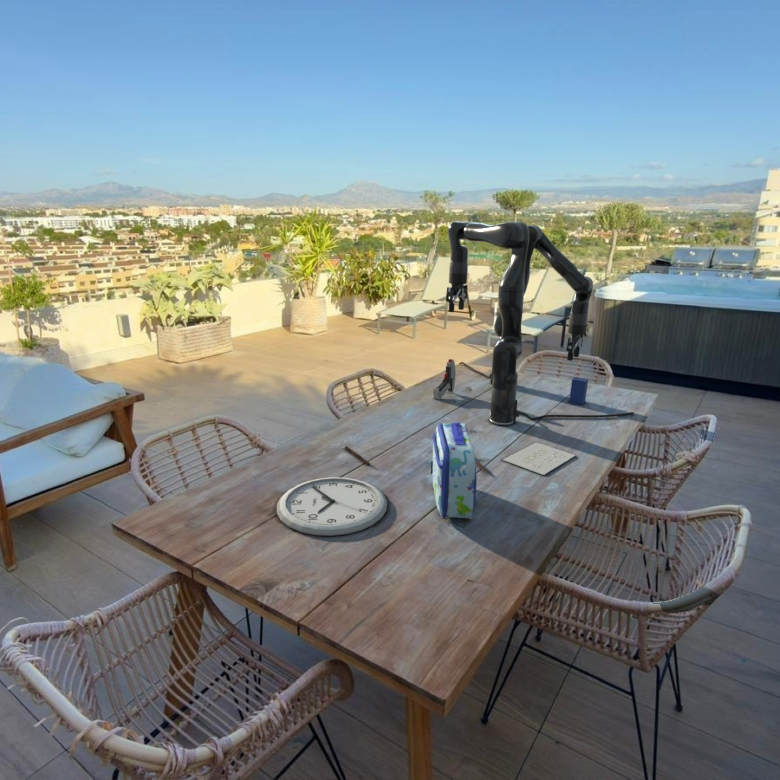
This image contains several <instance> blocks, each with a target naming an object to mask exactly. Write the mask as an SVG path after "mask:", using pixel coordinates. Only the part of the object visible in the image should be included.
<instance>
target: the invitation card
mask: <svg viewBox="0 0 780 780" xmlns="http://www.w3.org/2000/svg"><path fill="white" fill-rule="evenodd" d="M576 456H577V455H576V454H573V453H570V452H567V451H565V450H561V449H558V448H555V447H552V446H549V445H546V444H543V443H539V442H534V443H532V444H529V445H528V446H526V447H524V448H522V449H520V450H518V451H516V452H514V453H512V454H510V455H509V456H507V457H505V458H503V459H502V461H503V462H506V463H509V464H511V465H514V466H518V467H520V468H523V469H525V470H528V471H531V472H534V473H536V474H539V475H541V476H545V475H547V474H548V473H550V472H552V471H554V469H556V468H558V467H559V466H561V465H563V464H564V463H566V462H568V461H570V460H571V459H572V458H574V457H576Z"/></svg>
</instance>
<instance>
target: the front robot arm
mask: <svg viewBox="0 0 780 780" xmlns="http://www.w3.org/2000/svg"><path fill="white" fill-rule="evenodd" d="M528 226H529V225H527V224H526V223H525V222H522V221H506V222H503V223H497V224H492V225H489V224H486V223H482V222H470V221H452V222H450V224H449V225H448V227H447V238H448V242H449V248H450V263H449V268H448V270H449V271H448V272H449V273H448V283H449V284H451V286H447V287H446V297H445V302H447V303H448V312H449V313H454V312H455V302H456V300H457V299H458V310H460V311H463V310H464V309H465V301H466V300H467V299H468V292H469V291H468V289H469V287H468V285H467V283H468V272H469V271H468V270H469V269H468V268H469V265H468V259H469V248H468V247H467V246H465V245H462V244H461V241H469V242H475V243H486V244H490V245H493V246H496V247H498V248H501V249H504V250H510V251H511V252H510V261H509V263H508V267H507V268H506V271H505V272H504V274H503V276H502V277H501V279H500V282H499V285H498V290H497V291H498V293H497V305H498V312H499V311H500V315H501V319H502V337H501V341H500V342H498V341H497V342H498V343H497V342H496V343H497V344H496V343H495V345H494V346H493V350H492V358H491V359H492V361H491V362H492V363H491V373H493V384H492V388H491V399H490V410H489V422H490V423H491V424H494V425H497V426H511V425H513V424H516V423H517V418H519V417H520V415H521V416H524V417H526V418H527V419H528V420H530V421H537V420H540V419H544V418H611V417H612V418H613V417H622V416H630V415H635V412H634V411H631V412H624V413H614V414H588V415H587V414H543V415H540V416H537V417H531V416H530V415H529V414H527V413H525V412H522V411H520V410H518V399H517V388H518V377H519V376H518V372H517V361H518V359H519V358H520V357H521V355H522V354H523V338H522V321H523V311H524V310H523V308H524V301H525V300H524V299H525V298H524V296H525V294H524V277H525V264H526V257H527V250H528V243H529V229H528Z"/></svg>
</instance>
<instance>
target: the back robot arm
mask: <svg viewBox="0 0 780 780" xmlns="http://www.w3.org/2000/svg"><path fill="white" fill-rule="evenodd" d="M527 226H528V229H529V243H528V250H527V257H526V264H525V277H524V295H526V292H527V289H528V285H529V282H530V276H531V261H532V260H531V259H532V257H533V253H534V250H536V251H537V252H539V253H540V254H541V256H543V257H544V258H545V259H546V260H547V262H548V264H549V265H550V267H551V268H552V269H553V270H554V271H555V272H556V273H557V274H558V275H559V276H560V277H561V278H563V279H564V281H566V283H567V285H568V286H570V288H571V289H572V290H573V291H574V292H575V294H574V298H573V300H572V303H571V310H570V315H569V319H568V327H567V328H568V329H567V333H568V334H570V337H568V338H567V344H566V350H565V351H566V352H567V357H566V360H567V361H569V362H571V361H573V360H574V357H575V358H579V356H580V352H581V351H580V350H581V348H582V347H583V343H584V336H585V335H586V332H587V327H588V318H589V309H590V301H591V297H592V293H593V289H594V282H593V279H592V278H591V277H589V276H587V275H584V274H582V272H581V271H580V270H578V269H579V268H578V266H577V265H575V263H573V262H572V261H571V260H570V259H569V258H567V256H566V255H565V254H563V253H562V252H561V251H560V250H559V249H558V248H557V247H556V246H555V245H554V244H553V243H552V241H551V240H550V239H549V238H548V237H547V235H546V234H545V233H544V231H543V230H542V228H541V227H540V226H538V225H535V224H534V225H532V224H531V225H527ZM493 330H494V332H495V335H496V336H498V337H499V339H498V341H497V342H496V343H495V345H496V344H497V343H498V342H500V341H501V337H502V319H501V315H500V311H499V310H498V313H497V317H496V319H495V321H494V325H493ZM458 364H459V365H464V366H465V367H467V368H468V369H470V370H471V371H472V372H474V373H477V374H480V375H481V376H483V377H485V378H487V379H490V384H492V385H493V373H492V372H491V373H489V376H488V375H486V374H485V373H483V372H481V371H479V370H477V369H474V368H472V367H471V366H470V365H468V364H466V363H465V362H464V361H461V362H459V363H458Z"/></svg>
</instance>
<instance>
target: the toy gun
mask: <svg viewBox="0 0 780 780" xmlns="http://www.w3.org/2000/svg"><path fill="white" fill-rule="evenodd" d="M455 384H456V364H455V359H453V358H448V360H447V362H446V366H445V373H444V377H443V379H442V382H441V383H440V384H438V386H437V387H434V388H433V399H435V400H441V398H443V396H444V395H446V393H452V394H453V393H454V390H455Z"/></svg>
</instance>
